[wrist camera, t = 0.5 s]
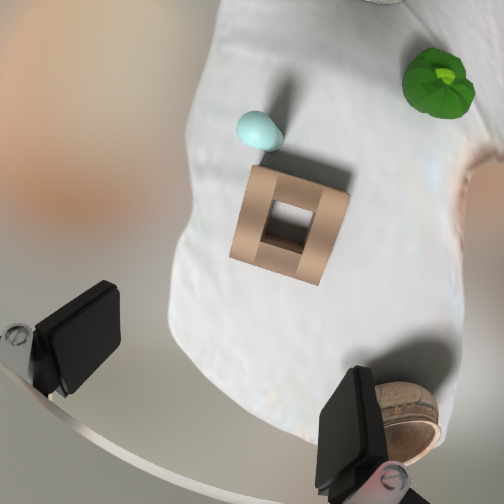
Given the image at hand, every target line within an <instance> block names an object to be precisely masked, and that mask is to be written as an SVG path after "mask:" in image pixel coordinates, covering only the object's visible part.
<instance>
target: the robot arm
mask: <svg viewBox="0 0 504 504" xmlns="http://www.w3.org/2000/svg"><path fill="white" fill-rule="evenodd" d="M365 1H368V2H373V3H378V4H396V3H399V2H402V1H403V0H365ZM35 328H36V330H35V331H32V329H31V328H30V327H29V326H28V325H26V324H22V323H15V324H12V325H10V326H8V327H7V328H6V329H5V330H4V331H3V333H2V335H1V336H0V504H285V503H278V502H273V501H268V500H262V499H257V498H253V497H248V496H244V495H240V494H237V493H232V492H229V491H226V490H222V489H219V488H215V487H212V486H209V485H206V484H203V483H200V482H197V481H194V480H191V479H189V478H186V477H183V476H181V475H178V474H176V473H173V472H171V471H168V470H166V469H163V468H161V467H159V466H157V465H155V464H152V463H150V462H148V461H146V460H144V459H142V458H140V457H138V456H136V455H134V454H132V453H130V452H128V451H126V450H125V449H123V448H121V447H119V446H117V445H115V444H113V443H112V442H110V441H109V440H107V439H105V438H104V437H102V436H100V435H99V434H97V433H95V432H94V431H92V430H91V429H89V428H87V427H86V426H85V425H83V424H82V423H80V422H79V421H77V420H76V419H74V418H73V417H72V416H70V415H69V414H67V413H66V412H65V411H63V410H62V409H61V408H59V407H58V406H57V405H55V404H54V403H53V402H52V393H53V392H54V391H55V390H56V391H57V392H58V393H59V394H60V395H62V396H63V397H64V398H66V397H67V396H68V395H69V394H73V393H74V392H75V391H76V390H77V389H78V388H79V387H80V386H81V385H82V384H83V383H84V382H85V380H87V379H88V378H89V377H90V375H91V374H92V373H93V372H94V371H95V370H96V369H97V368H98V367H99V366H100V365H101V364H102V363H103V362H104V361H105V360H106V359H107V358H108V357H109V356H110V355H111V354H112V353H113V352H114V351H115V350H116V349H117V348H118V346H119V345H120V342H121V334H120V293H119V290H117V286H116V285H115V284H113V283H110V282H108V281H106V280H103V281H101V282H99V283H98V284H96V285H95V286H93V287H92V288H90V289H88V290H87V291H85V292H84V293H83V294H81V295H79V296H78V297H76V298H75V299H73V300H72V301H70V302H69V303H67V304H66V305H64V306H63V307H61V308H60V309H58V310H57V311H56V312H54V313H53V314H51V315H50V316H48V317H47V318H45V319H44V320H42V321H41V322H40V323H38V324H37V325H35ZM411 480H412V477H411V473H410V471H409V469H408V468H407V467H406V466H405V465H404V464H402V463H401V462H398V461H389V458H388V450H387V443H386V436H385V430H384V424H383V418H382V412H381V407H380V405H379V404H378V401H377V396H376V391H375V386H374V381H373V376H372V372H371V369H370V368H367V367H362V366H358V365H357V366H355V367H354V368H350V369H349V370H348V371H347V373H346V375H345V376H344V378H343V379H342V381H341V382H340V384H339V386H338V387H337V389H336V390H335V392H334V393H333V395H332V396H331V398H330V399H329V401H328V402H327V403H326V405H325V406H324V408H323V409H322V411H321V413H320V417H319V436H318V454H317V467H316V479H315V487H316V488H319V490H318V495H324V496H328V502H329V503H328V504H430V503H429V502H427V501H426V500H425V499H423V498H422V497H421V496H420V495H419V494H417V493H416V492H415V491H414V490H412V489H411V488H410V485H411Z"/></svg>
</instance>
